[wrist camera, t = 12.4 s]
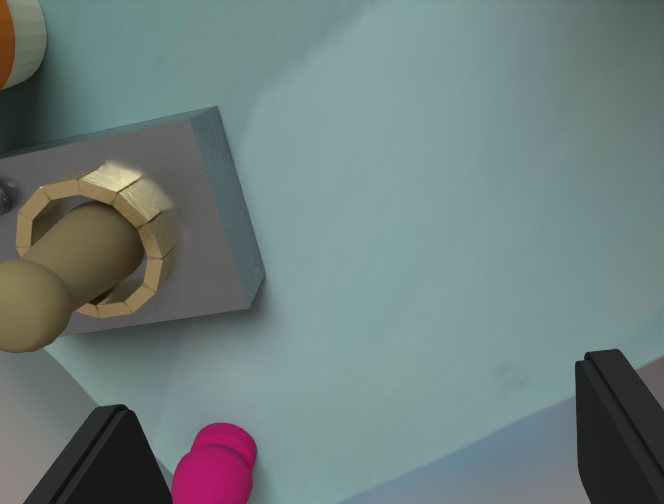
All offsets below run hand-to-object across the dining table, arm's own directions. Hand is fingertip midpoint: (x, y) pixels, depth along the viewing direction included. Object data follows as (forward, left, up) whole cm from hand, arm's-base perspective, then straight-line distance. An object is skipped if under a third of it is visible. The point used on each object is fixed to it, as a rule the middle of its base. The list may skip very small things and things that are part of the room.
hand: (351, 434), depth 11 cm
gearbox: (+2, -20, -30) cm, 36 cm away
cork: (+2, -20, -24) cm, 31 cm away
